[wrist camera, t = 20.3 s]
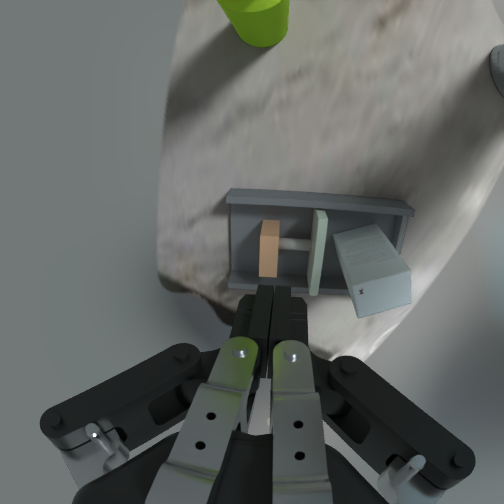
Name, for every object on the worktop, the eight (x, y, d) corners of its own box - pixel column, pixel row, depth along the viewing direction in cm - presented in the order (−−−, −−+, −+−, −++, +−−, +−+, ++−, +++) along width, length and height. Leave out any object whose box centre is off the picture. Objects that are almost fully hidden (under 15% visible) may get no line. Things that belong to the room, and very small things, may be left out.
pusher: (322, 204, 35) (328, 219, 30) (314, 274, 39) (317, 296, 35) (263, 201, 35) (260, 215, 31) (261, 271, 40) (258, 293, 35)
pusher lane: (404, 201, 34) (414, 210, 31) (386, 282, 40) (393, 296, 36) (231, 188, 36) (225, 196, 33) (232, 273, 41) (227, 288, 38)
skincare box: (338, 262, 38) (356, 320, 28) (332, 233, 37) (350, 285, 26) (381, 251, 37) (412, 304, 26) (377, 221, 35) (411, 268, 25)
